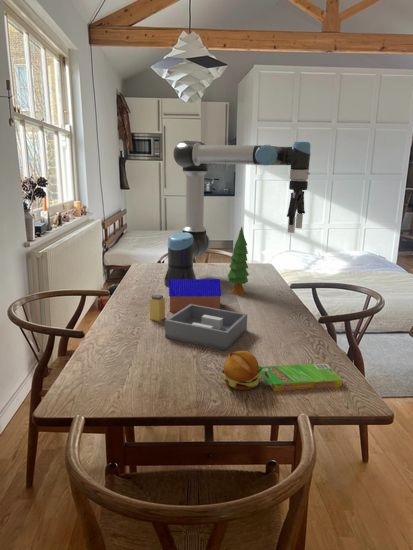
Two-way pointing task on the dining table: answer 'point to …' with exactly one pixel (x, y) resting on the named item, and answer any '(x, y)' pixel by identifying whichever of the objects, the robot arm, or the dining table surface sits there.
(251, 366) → the cheeseburger
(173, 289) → the house
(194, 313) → the box
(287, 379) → the game box
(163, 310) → the yellow jar
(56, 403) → the dining table surface
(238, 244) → the decorative tree
